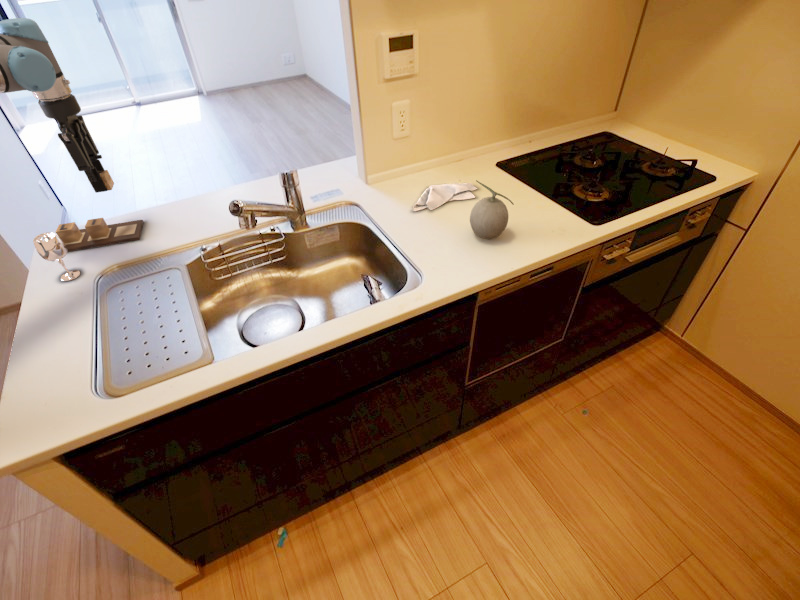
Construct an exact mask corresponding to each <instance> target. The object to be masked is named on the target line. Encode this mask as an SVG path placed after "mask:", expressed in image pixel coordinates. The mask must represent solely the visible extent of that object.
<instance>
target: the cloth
mask: <svg viewBox="0 0 800 600" xmlns="http://www.w3.org/2000/svg"><path fill="white" fill-rule="evenodd" d="M475 190H478V188H477V187H476V186H475V185H473V183H472V182H462V183H459V182H458V183H457V182H455V183H454V182H453V183H442V184H430V185H429V187H427V188H426V189H425V190H424V191H423V193H422V194H421V196H420V197H419V198H418V200H417V201H416V202H415V203H414V205H413V206H412V211H413V212H418V211H422V210H425V209H428V210H429V211H433V210H435V209H437V208H440V207H441V206H443V205H444V204H445V203H448V202H452V201H453V202H454V201H465V200H471V199H475V198H476V196H475V195H474V194H473V191H475Z"/></svg>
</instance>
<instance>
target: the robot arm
mask: <svg viewBox="0 0 800 600" xmlns="http://www.w3.org/2000/svg"><path fill="white" fill-rule="evenodd" d="M70 84H71V82H70V80H69V79H66V77H65V74H64V72H63V70H62V68H61V67H60V64H59V63H58V61H57V58H56V56H55V54H54V52H53V50H52V48H51V47H50V44H49V41H48V40H47V38H46V36H45V34H44V32H43V31H42V29H41V28H40V26H39V25H38V23H37V22H36V21H35V20H33V19H31V18H28V17H27V18H26V17H18V18H17V17H15V18H8V19H7V18H6V19H2V20H0V94H4V93H5V94H7V93H14V92H21V91H28V92H31V93H32V95H33V97H34V98H35V99H36V100H38V105H39V107H40V109H41V110H42V112H43V115H44V116H45V117H46V118H49V119H53V120H55V121H57V127H58V130H59V131H60V132H58V133H57V137H58V138H59V140H60V141H61V142H62V143H63V145H64V147H65V149H66V150H67V152H68V154H69V155H70V158H71V159H72V161H73V162H74V164H75V166H76V167H77V169H78V171H79V172H84V174H85V176H86V177H87V180H88V179H89V180H88V182H89V183H90V185H91V187H92V186H93V187H92V189H93V190H94V192H95V193H103V192H107V188H106V186H105V184H104V182H103V180H102V178H101V176H100V175H99V173H98V171H104V170H105V168H104V166H103V164H102V162H101V160H102V159H103V156H102V154H100V151H99V149H98V147H97V145H96V144H95V142H94V139H93V137H92V135H91V133H90V131H89V130H88V127H87V125H86V121H85V119H84V116H83V115H81V114H80V115H78V114H79V113H80V112H82V111H81V110H82V109H81V105H80V104H79V102H78V100H77V98H76V96H75V95H73V94H72V92H73V90H72V88H71V87H70ZM100 159H101V160H100Z"/></svg>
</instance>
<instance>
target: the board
mask: <svg viewBox="0 0 800 600" xmlns="http://www.w3.org/2000/svg"><path fill="white" fill-rule="evenodd" d="M144 224H145V222H144V220H143V219H138V220H131V221H126V222H125V221H123V222H118V223H113V224H107V226H108V228H109V232H108V234H107V236H106V237H100V238H93V239H92V238H91V237H90V235H89V233H88V232H87V230H86V228H81V229H80V228H79V230H80V232H81V233H82V235H81V237H80V239H79V241H76V242H70V243H64V244H65V245H66V247H67V253H69V252H75V251H80V250H86V249H93V248H98V247H105V246H113V245H116V244H122V243H128V242H129V243H130V242H135V241H140V239H141V237H142V236H141V235H142V231H143V227H144Z"/></svg>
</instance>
